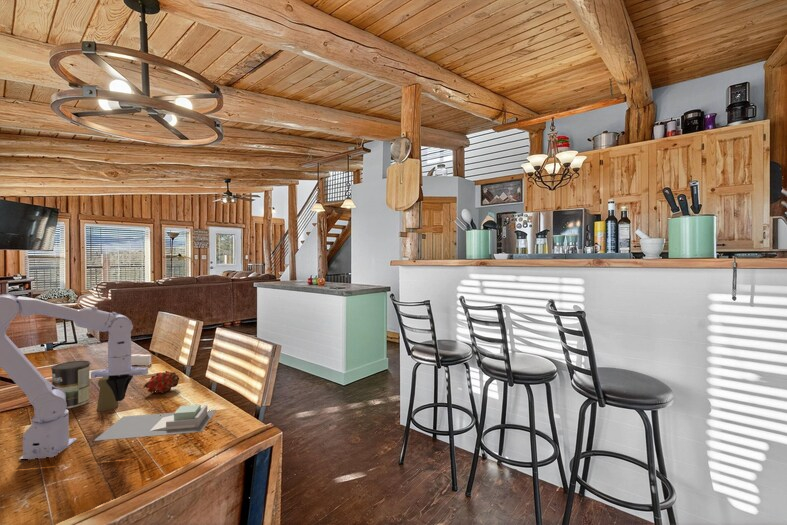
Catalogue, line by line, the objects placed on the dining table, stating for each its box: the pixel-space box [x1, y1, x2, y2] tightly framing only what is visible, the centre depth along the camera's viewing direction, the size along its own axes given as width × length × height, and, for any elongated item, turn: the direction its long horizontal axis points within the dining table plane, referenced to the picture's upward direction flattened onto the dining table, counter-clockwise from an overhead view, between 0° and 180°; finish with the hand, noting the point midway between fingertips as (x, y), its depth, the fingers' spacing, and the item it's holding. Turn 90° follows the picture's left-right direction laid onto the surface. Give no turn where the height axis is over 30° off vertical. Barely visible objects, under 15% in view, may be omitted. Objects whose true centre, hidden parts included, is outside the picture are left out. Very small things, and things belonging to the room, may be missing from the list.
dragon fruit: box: [143, 370, 180, 394], centre depth 142 cm, size 8×8×12 cm
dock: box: [93, 405, 217, 442], centre depth 114 cm, size 16×28×4 cm, turn 101°
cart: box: [173, 404, 202, 420], centre depth 116 cm, size 6×7×3 cm
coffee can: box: [51, 360, 91, 410], centre depth 130 cm, size 10×10×14 cm
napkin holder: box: [131, 353, 152, 366], centre depth 176 cm, size 15×11×6 cm
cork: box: [96, 377, 119, 412], centre depth 126 cm, size 6×6×11 cm
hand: (120, 399), depth 110 cm, fingers closed
